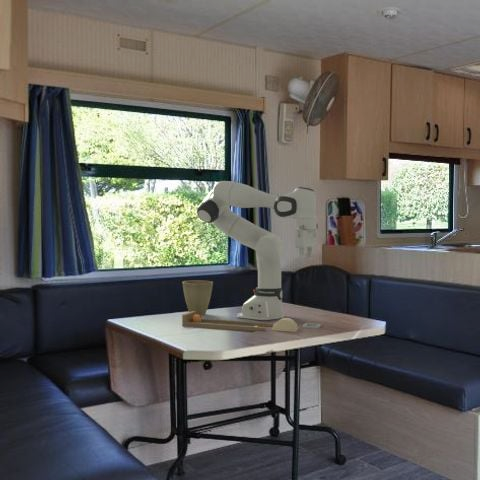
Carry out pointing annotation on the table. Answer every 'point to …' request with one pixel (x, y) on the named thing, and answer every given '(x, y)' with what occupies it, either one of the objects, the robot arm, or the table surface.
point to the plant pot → (197, 295)
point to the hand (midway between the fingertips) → (305, 257)
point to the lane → (238, 324)
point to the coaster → (311, 325)
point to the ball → (196, 318)
